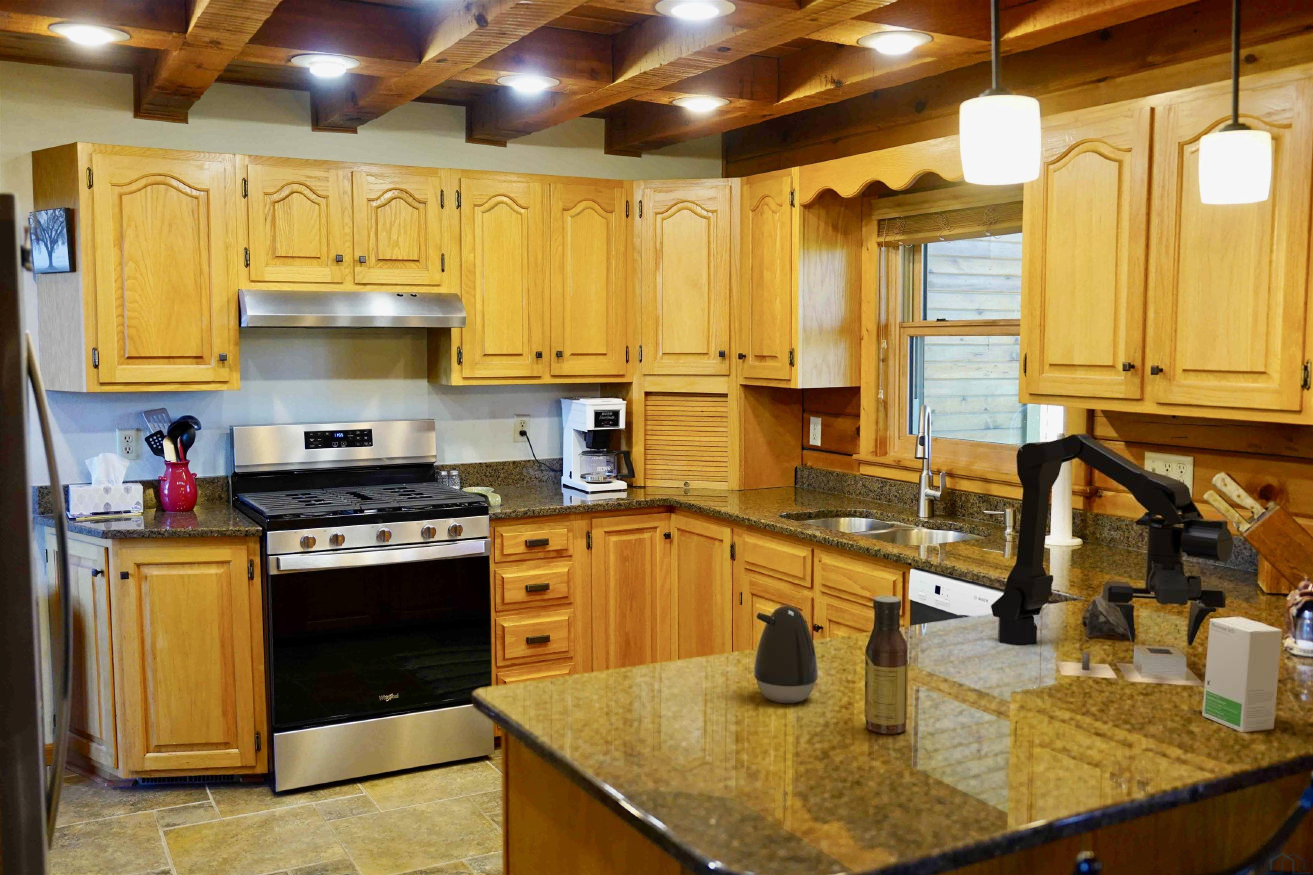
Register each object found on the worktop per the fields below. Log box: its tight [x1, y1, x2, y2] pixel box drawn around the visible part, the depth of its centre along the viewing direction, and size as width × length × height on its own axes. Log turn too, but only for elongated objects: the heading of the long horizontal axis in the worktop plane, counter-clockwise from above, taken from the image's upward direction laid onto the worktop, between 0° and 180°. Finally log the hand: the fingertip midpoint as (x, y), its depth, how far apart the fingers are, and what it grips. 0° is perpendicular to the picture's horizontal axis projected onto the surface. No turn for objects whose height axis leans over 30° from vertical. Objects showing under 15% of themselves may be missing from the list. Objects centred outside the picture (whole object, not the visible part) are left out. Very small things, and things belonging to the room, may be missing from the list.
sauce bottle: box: [864, 595, 909, 736], centre depth 172 cm, size 6×6×20 cm
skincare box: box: [1201, 616, 1283, 733], centre depth 177 cm, size 8×7×16 cm
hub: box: [1115, 662, 1205, 687], centre depth 200 cm, size 12×12×4 cm
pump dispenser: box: [753, 605, 819, 704], centre depth 187 cm, size 10×10×15 cm
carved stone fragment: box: [1081, 593, 1137, 641], centre depth 233 cm, size 11×9×10 cm
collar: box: [1132, 644, 1188, 681], centre depth 200 cm, size 7×7×4 cm
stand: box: [1054, 652, 1118, 679], centre depth 203 cm, size 9×9×4 cm
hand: (1161, 643), depth 200 cm, fingers open, 9 cm apart
